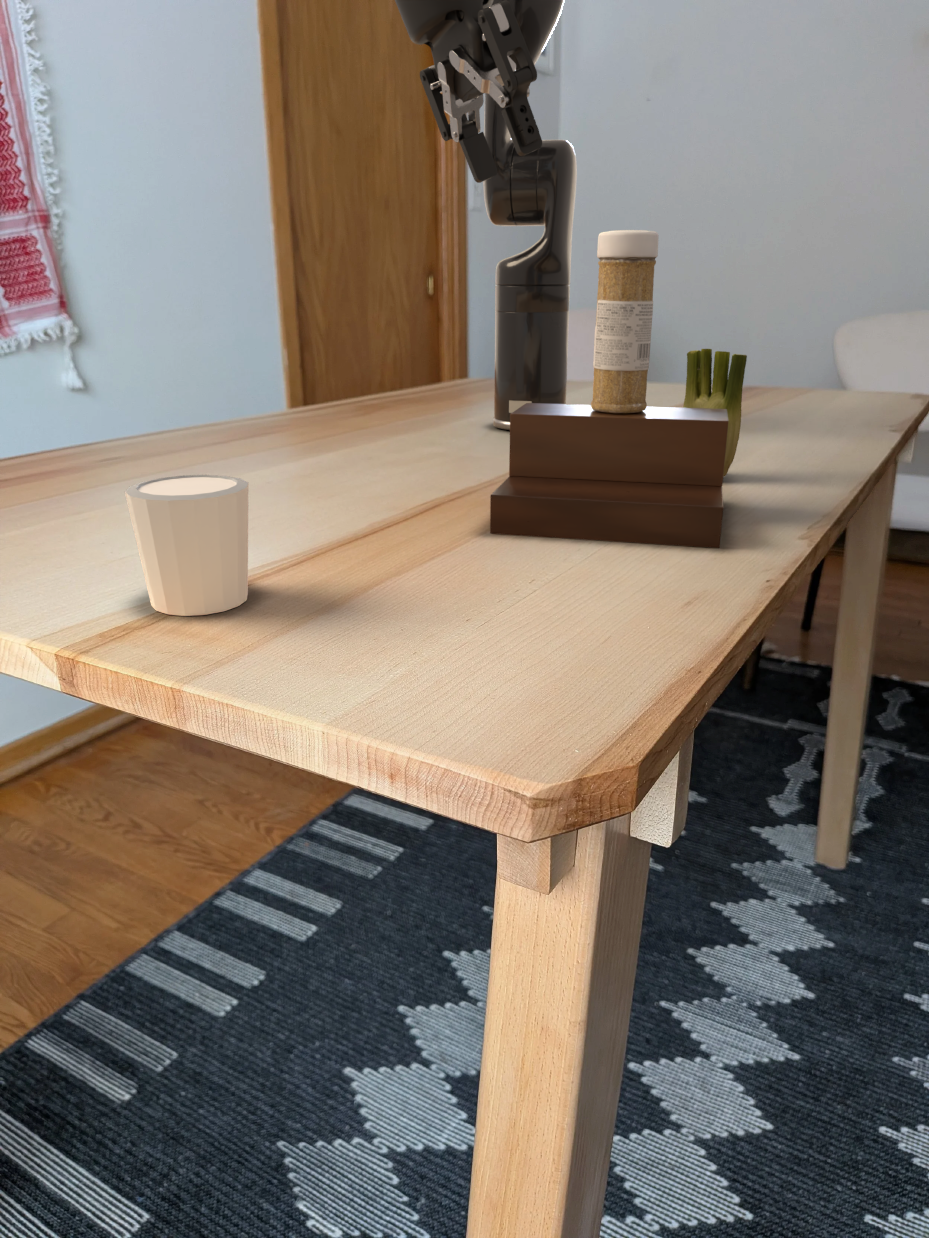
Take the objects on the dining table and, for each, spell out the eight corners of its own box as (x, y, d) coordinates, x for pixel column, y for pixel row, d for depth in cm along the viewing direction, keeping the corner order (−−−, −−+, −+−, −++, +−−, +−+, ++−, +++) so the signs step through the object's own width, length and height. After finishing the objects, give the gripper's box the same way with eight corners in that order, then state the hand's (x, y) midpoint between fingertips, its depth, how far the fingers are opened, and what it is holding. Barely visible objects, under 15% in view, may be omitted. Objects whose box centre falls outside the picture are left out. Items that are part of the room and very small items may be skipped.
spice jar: (616, 405, 77) (625, 233, 72) (658, 411, 74) (671, 230, 69) (578, 410, 74) (585, 231, 69) (620, 416, 71) (631, 228, 66)
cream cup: (163, 581, 58) (149, 472, 56) (270, 582, 58) (261, 473, 55) (122, 619, 52) (104, 497, 49) (242, 620, 51) (230, 498, 49)
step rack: (524, 494, 82) (526, 402, 79) (717, 504, 78) (726, 409, 75) (489, 533, 69) (490, 426, 66) (719, 548, 65) (730, 435, 62)
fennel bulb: (741, 481, 86) (755, 350, 82) (697, 485, 85) (709, 351, 81) (705, 470, 91) (717, 346, 87) (663, 474, 90) (673, 347, 86)
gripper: (507, -100, 68) (585, 125, 74) (435, -14, 81) (506, 172, 86) (423, -69, 66) (510, 159, 72) (363, 13, 79) (441, 202, 84)
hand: (508, 166), depth 79 cm, fingers open, 8 cm apart
